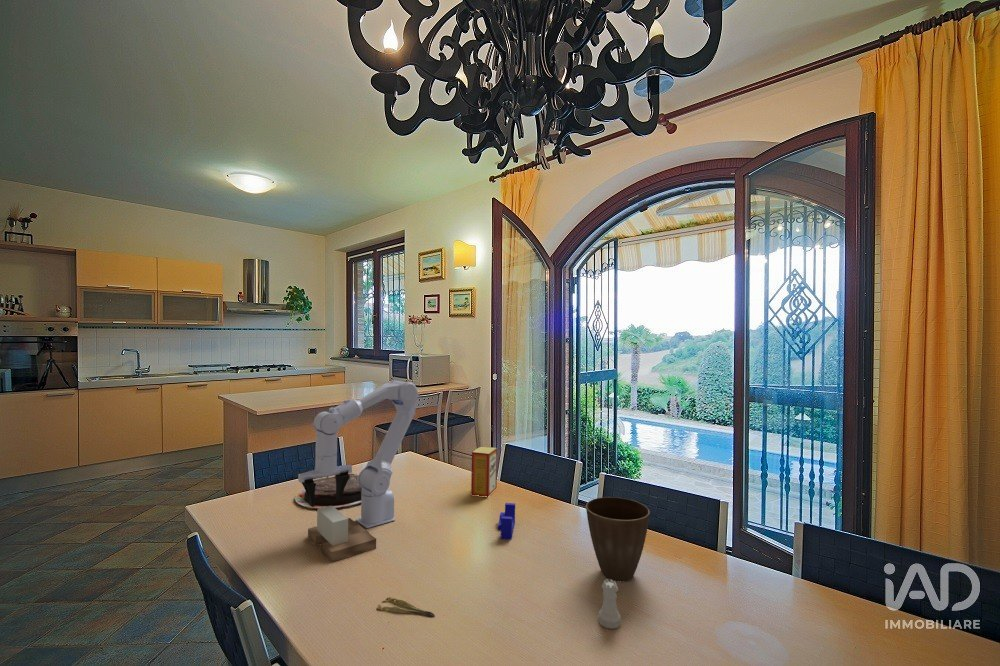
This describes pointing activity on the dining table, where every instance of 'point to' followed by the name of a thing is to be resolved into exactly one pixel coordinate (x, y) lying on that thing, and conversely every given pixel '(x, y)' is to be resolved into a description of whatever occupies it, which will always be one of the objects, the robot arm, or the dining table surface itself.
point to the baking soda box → (484, 471)
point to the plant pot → (617, 535)
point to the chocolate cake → (332, 494)
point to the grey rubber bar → (332, 525)
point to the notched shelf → (356, 542)
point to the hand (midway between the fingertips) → (325, 502)
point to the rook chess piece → (609, 606)
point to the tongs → (405, 604)
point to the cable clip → (507, 521)
